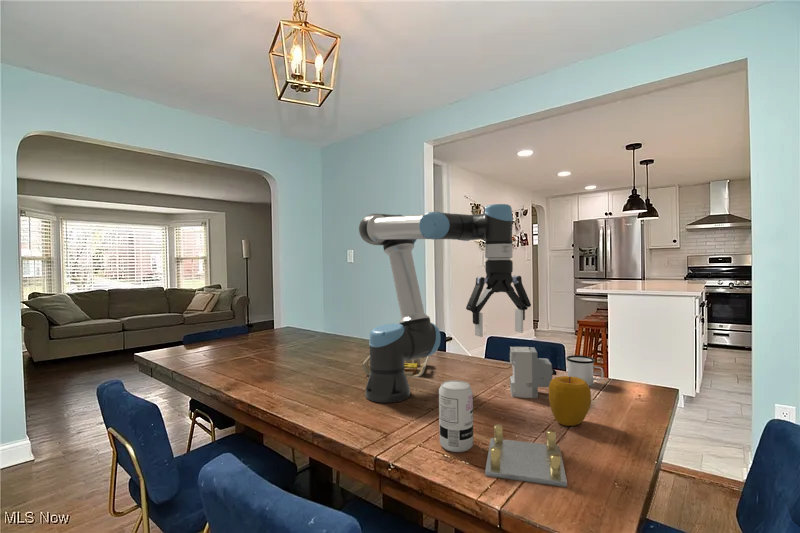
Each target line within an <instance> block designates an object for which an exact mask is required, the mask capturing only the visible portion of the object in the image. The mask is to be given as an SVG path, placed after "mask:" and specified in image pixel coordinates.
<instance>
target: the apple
mask: <svg viewBox="0 0 800 533" xmlns="http://www.w3.org/2000/svg"><path fill="white" fill-rule="evenodd" d="M548 401H549V402H548V403H549V406H550V410H551V413H552V416H553V417H554V419H555V421H556V422H557V423H558V424H560V425H562V426H568V427H569V426H570V427H573V426H578V425H579V424H582V422H583V421H584V420H585V418H586V416H587V415H588V413H589V409H590V408H591V404H592V403H591V402H592V394H591V389H590V386H588V384H587V383H586V382H585V381H584V380H583V379H581V378H577V377H571V376H568V375H564V376H558V377H557V376H556V377H554V378H552V380H551V381H550V384H549V387H548Z"/></svg>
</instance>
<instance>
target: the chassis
mask: <svg viewBox="0 0 800 533" xmlns="http://www.w3.org/2000/svg"><path fill="white" fill-rule="evenodd" d="M493 427H494V428H493V430H494V431H493V433H494V434H493V435H494V436H493V437H494V438H493V437H490V441H489V446H488V452H487V458H486V464H485V471H484V475H485V477H493V478H498V479H506V480H513V481H521V482H525V483H526V482H528V483H532V484H533V483H535V484H543V485H549V486H555V487H556V486H557V487H563V488H568V481H567V476H566V470H565V465H564V461H563V455H562V451H561V446H560V445H557V440H556V439H557V438H556V437H557V435H556V431H555V430H553V429H548V430H546V443H538V442H530V441H529V442H528V441H520V440H513V439H512V440H510V439H504V437H503V436H504V435H503V434H504V432H503V431H504V430H503V425H502V424H494V425H493Z"/></svg>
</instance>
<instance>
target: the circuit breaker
mask: <svg viewBox="0 0 800 533" xmlns="http://www.w3.org/2000/svg"><path fill="white" fill-rule="evenodd" d="M509 348H510V349H509V363H510V365H511V366H512V375H511V376H509V391H510V395H511V398H513V397H515V398H524V399H525V398H526V399H538V398H539V394H538V393H539V392H538V390H539V388H549V384H550V381H551V380H552V379H553V376H557V371H556V369H555V368H553V365H552V363H551V361H550V359H549V358H544V357H543V358H540V357H539V358H538V352H537V350H536V348H535V347H532V346H531V347H529V346H509Z"/></svg>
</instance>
